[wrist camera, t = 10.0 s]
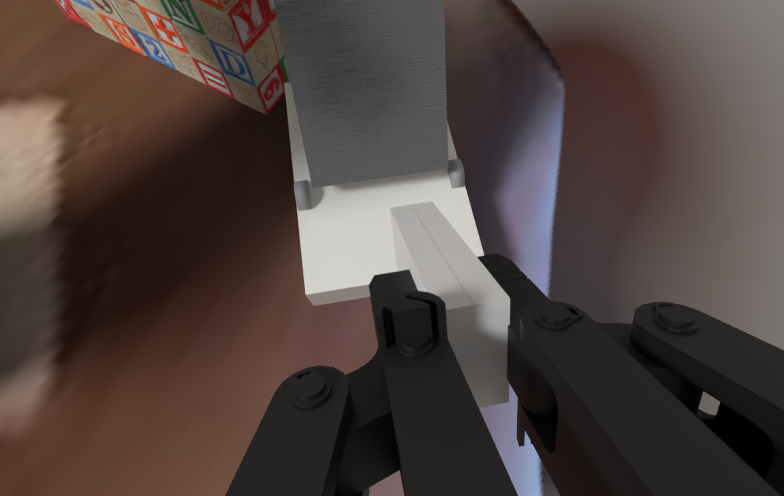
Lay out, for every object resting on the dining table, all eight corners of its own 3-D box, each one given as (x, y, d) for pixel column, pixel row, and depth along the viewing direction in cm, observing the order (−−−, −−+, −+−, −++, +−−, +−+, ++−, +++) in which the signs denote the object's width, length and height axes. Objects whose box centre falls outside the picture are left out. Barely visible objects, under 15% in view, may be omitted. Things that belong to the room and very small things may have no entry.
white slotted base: (475, 279, 27) (506, 240, 20) (314, 306, 26) (290, 274, 19) (427, 94, 32) (438, 17, 26) (293, 111, 31) (269, 35, 25)
